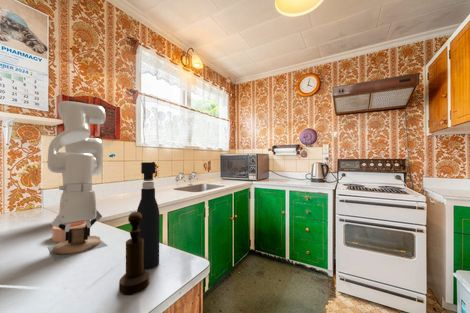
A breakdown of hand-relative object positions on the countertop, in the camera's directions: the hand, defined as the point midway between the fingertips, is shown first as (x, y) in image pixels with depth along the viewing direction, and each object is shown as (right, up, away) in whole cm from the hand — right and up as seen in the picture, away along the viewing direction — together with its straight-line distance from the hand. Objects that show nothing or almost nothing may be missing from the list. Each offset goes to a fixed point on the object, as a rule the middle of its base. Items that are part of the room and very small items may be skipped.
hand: (77, 239), depth 70 cm
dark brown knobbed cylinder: (+31, -3, -21) cm, 37 cm away
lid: (0, -2, 0) cm, 2 cm away
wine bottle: (+29, -3, -11) cm, 31 cm away
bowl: (-10, -3, +10) cm, 14 cm away
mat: (0, -3, 0) cm, 3 cm away
